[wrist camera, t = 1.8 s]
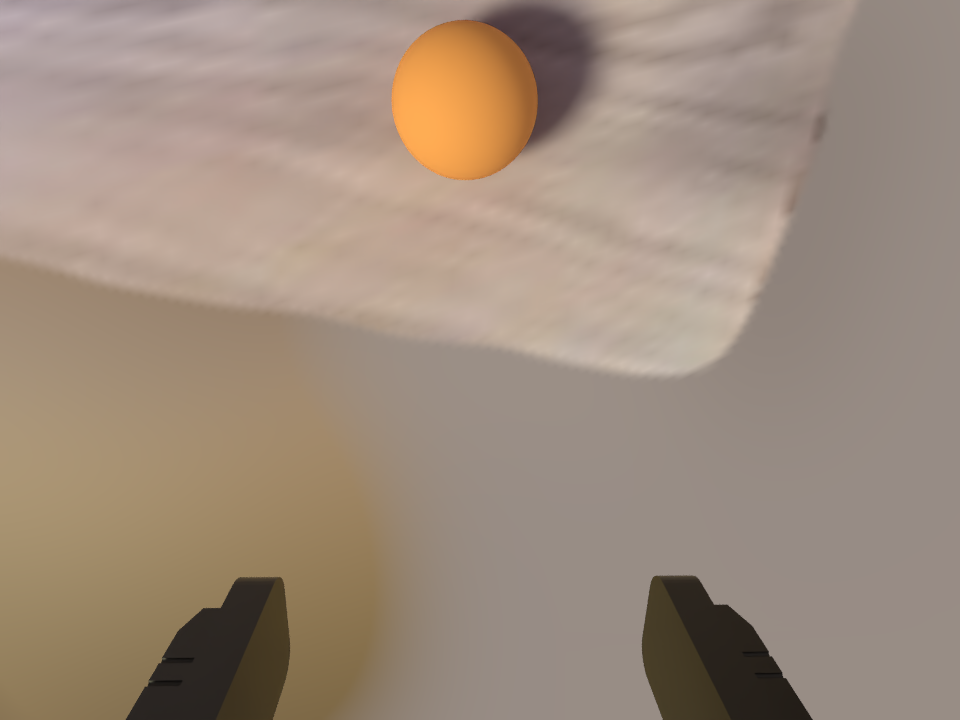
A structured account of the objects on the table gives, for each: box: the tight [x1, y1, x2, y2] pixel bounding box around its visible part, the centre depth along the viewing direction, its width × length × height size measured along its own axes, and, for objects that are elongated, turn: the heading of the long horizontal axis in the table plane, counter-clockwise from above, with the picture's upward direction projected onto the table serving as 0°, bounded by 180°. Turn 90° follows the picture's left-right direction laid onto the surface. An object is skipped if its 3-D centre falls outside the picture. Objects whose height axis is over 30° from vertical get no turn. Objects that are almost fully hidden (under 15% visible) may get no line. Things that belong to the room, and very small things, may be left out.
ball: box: [392, 20, 538, 180], centre depth 22 cm, size 6×6×6 cm
